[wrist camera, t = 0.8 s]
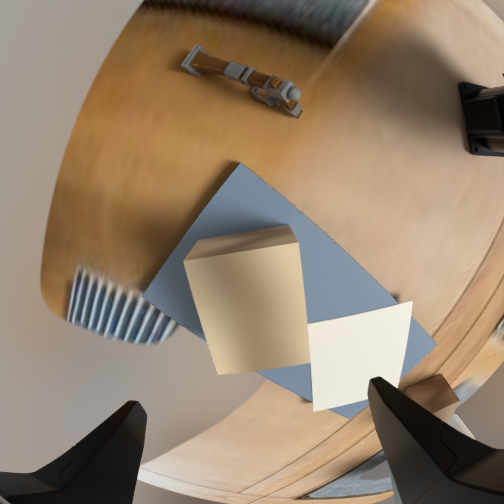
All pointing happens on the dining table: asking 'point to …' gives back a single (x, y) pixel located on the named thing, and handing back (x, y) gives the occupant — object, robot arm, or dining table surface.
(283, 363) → the beech block
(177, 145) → the dining table surface
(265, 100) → the wooden post with brackets
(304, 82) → the dining table surface
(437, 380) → the walnut block
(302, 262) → the board
